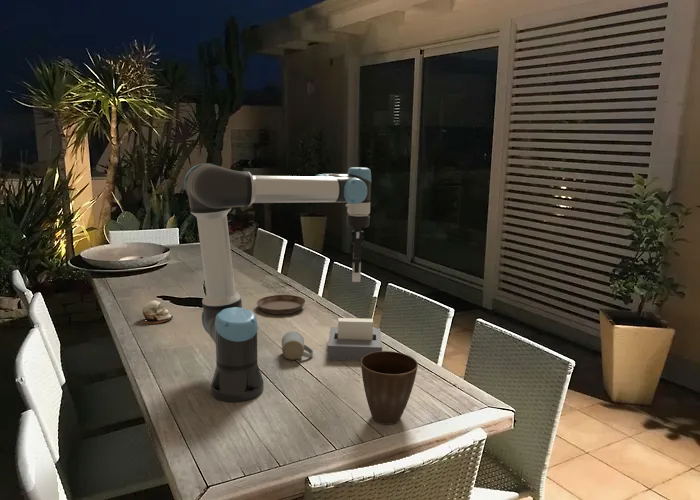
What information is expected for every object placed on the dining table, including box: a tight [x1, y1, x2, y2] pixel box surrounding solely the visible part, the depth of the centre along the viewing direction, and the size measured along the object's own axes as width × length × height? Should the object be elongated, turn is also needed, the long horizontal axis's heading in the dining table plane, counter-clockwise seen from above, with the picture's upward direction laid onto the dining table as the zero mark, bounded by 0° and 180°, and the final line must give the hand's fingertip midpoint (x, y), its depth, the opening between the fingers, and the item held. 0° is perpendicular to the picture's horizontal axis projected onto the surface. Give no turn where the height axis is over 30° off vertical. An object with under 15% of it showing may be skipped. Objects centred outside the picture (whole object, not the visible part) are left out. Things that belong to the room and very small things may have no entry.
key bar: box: [337, 317, 374, 340], centre depth 192 cm, size 12×4×10 cm, turn 90°
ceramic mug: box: [281, 330, 314, 361], centre depth 186 cm, size 11×8×8 cm
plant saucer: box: [256, 294, 306, 315], centre depth 236 cm, size 21×21×3 cm
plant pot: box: [360, 350, 419, 425], centre depth 146 cm, size 15×15×16 cm
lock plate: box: [327, 326, 383, 362], centre depth 192 cm, size 18×18×5 cm
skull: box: [142, 300, 173, 325], centre depth 218 cm, size 12×10×10 cm
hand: (356, 276), depth 187 cm, fingers open, 13 cm apart
